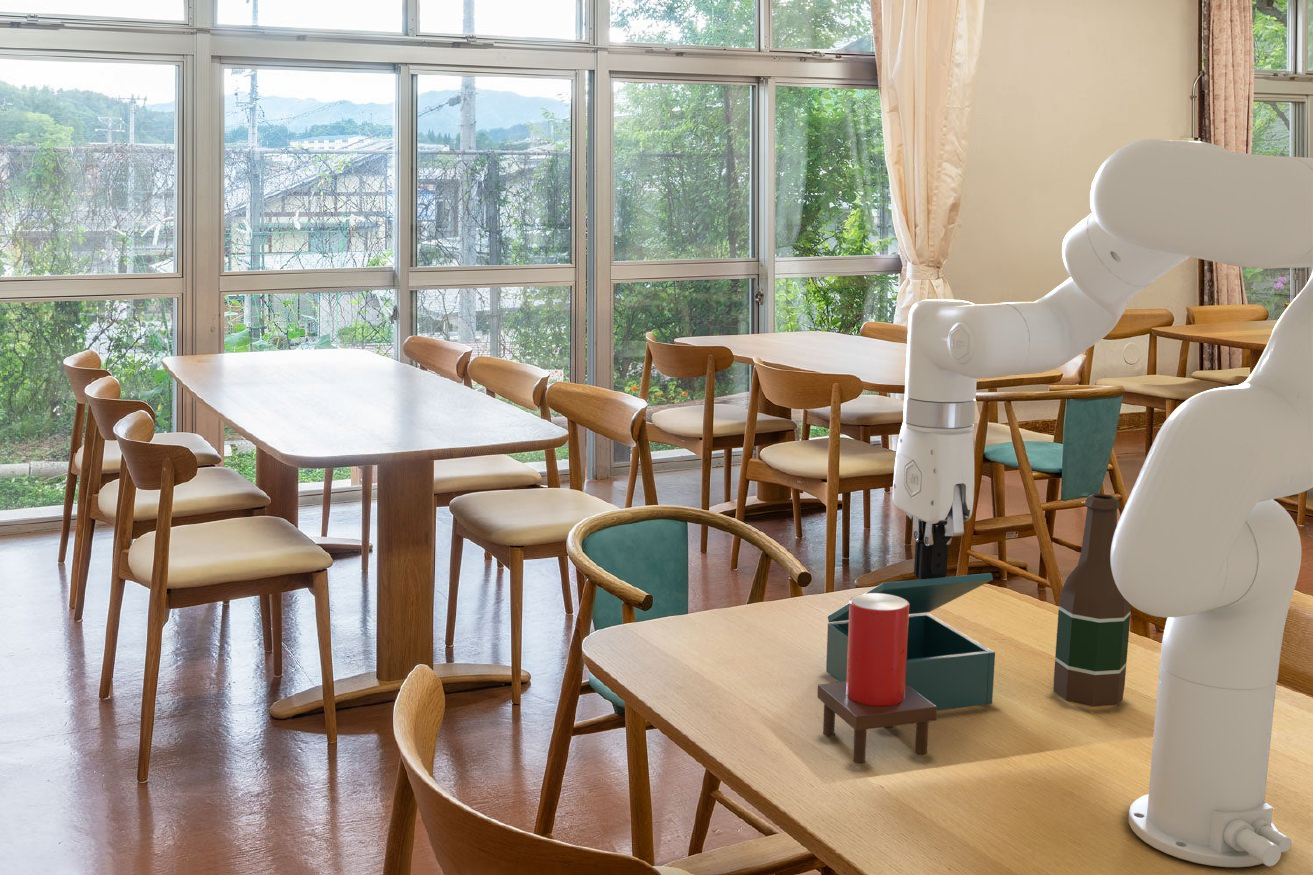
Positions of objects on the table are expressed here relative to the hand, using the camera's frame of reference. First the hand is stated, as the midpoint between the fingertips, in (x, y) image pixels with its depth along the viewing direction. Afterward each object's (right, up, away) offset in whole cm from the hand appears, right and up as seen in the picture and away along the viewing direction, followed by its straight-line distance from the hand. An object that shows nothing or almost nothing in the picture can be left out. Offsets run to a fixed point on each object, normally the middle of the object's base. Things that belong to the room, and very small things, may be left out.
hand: (930, 576), depth 141 cm
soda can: (-8, -11, -10) cm, 17 cm away
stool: (-8, -17, -9) cm, 21 cm away
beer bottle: (+19, -15, +5) cm, 25 cm away
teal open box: (-1, -14, +7) cm, 16 cm away
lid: (-1, -3, +5) cm, 6 cm away
